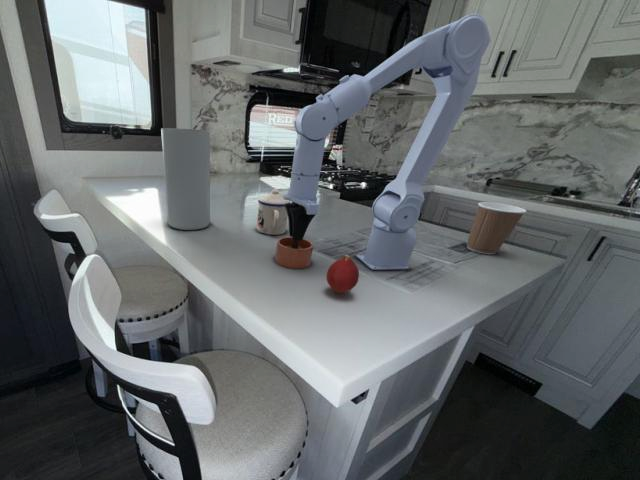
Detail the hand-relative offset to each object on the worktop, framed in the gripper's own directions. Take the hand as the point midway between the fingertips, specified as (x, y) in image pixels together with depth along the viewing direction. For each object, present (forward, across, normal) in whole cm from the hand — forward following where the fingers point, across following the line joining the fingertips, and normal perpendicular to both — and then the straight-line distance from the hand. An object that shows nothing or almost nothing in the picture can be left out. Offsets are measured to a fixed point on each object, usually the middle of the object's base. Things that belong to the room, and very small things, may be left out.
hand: (295, 238), depth 69 cm
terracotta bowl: (+6, 0, 0) cm, 6 cm away
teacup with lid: (+6, -21, 0) cm, 22 cm away
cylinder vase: (+6, -28, -24) cm, 37 cm away
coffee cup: (+6, -6, +57) cm, 58 cm away
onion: (+6, +16, +5) cm, 17 cm away
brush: (+5, 0, 0) cm, 5 cm away
